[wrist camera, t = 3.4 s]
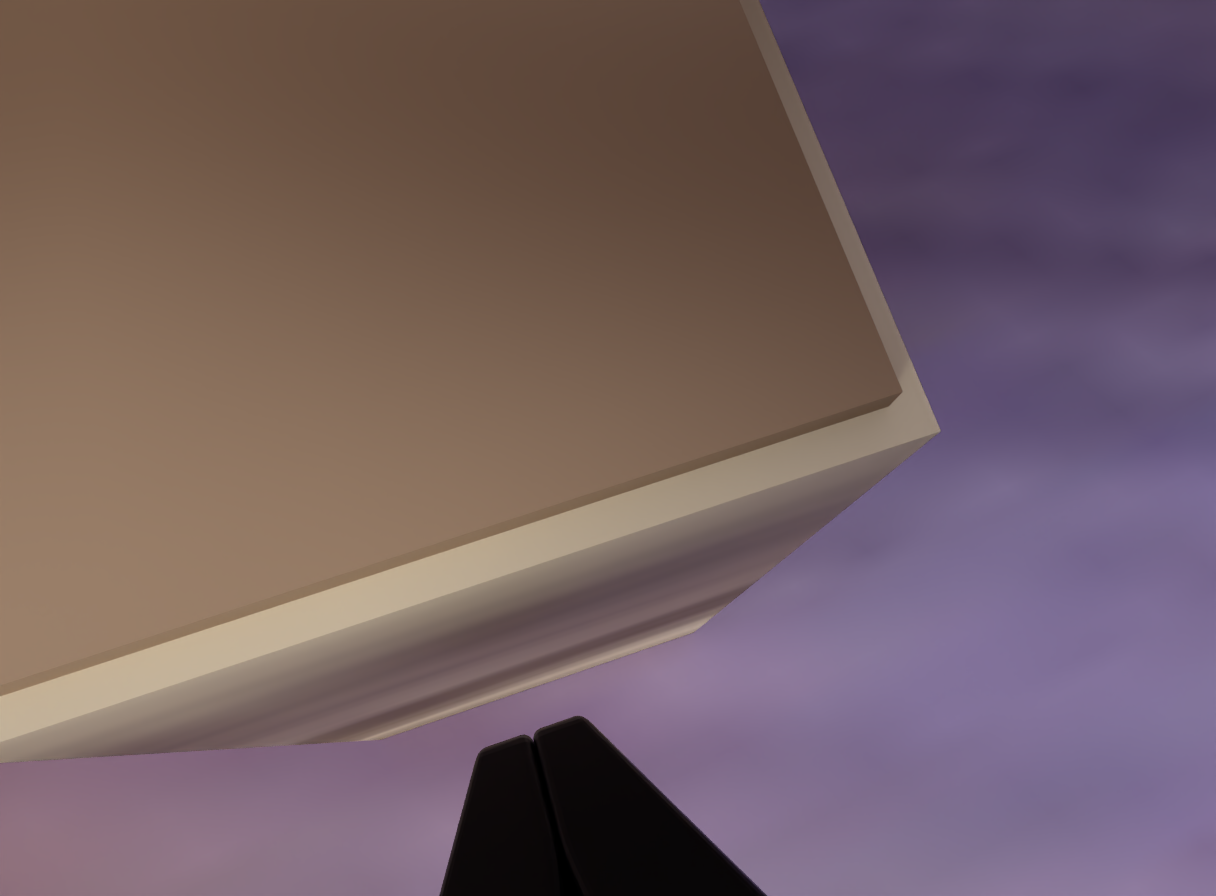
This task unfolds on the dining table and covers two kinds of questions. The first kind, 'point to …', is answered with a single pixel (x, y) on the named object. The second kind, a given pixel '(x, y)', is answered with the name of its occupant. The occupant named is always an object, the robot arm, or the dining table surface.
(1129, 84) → the dining table surface
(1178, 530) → the dining table surface
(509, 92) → the block
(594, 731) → the robot arm
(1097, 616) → the dining table surface
